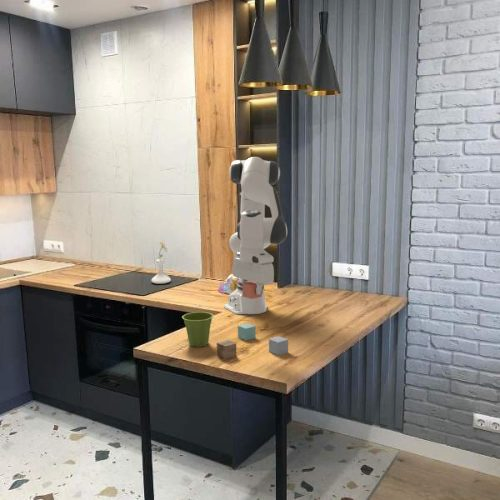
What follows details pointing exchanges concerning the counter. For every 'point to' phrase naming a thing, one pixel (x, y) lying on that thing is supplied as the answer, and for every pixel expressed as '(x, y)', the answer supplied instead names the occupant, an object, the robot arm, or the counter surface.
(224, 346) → the walnut block
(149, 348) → the counter surface
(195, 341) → the plant pot
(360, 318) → the counter surface
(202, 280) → the counter surface
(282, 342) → the slate grey block
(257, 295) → the brick-red block
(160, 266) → the flower in vase
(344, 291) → the counter surface
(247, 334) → the muted teal block
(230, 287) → the candy landscape model
